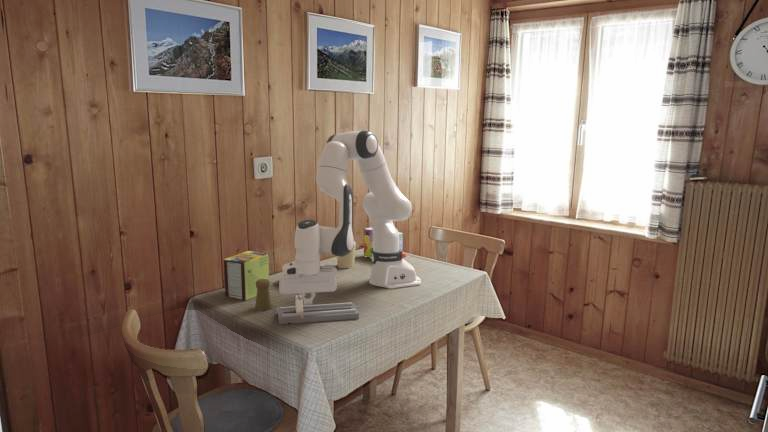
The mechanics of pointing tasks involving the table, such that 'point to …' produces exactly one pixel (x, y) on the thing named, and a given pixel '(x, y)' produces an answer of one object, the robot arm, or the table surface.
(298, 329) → the table surface
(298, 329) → the table surface
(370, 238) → the snack box
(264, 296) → the cork
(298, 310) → the fader tab
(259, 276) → the protein box
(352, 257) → the coffee cup
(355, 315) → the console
